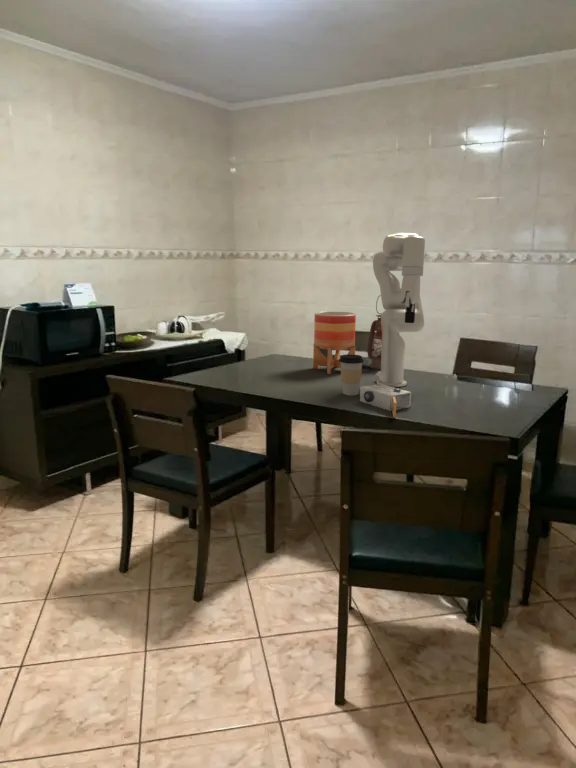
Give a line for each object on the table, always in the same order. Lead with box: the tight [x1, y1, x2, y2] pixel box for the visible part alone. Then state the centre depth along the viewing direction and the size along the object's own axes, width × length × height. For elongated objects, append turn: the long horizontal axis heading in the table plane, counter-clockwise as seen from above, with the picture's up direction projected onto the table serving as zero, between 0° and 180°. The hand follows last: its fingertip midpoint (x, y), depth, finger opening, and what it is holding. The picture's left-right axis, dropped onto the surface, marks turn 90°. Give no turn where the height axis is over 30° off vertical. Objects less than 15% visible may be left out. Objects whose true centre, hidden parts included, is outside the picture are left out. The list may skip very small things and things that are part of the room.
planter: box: [312, 311, 357, 375], centre depth 264 cm, size 20×20×27 cm
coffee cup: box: [339, 354, 364, 396], centre depth 219 cm, size 9×9×15 cm
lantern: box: [366, 294, 382, 370], centre depth 270 cm, size 11×16×35 cm
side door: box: [392, 396, 397, 418], centre depth 191 cm, size 1×9×5 cm, turn 173°
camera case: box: [359, 383, 412, 412], centre depth 204 cm, size 16×11×6 cm
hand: (409, 322), depth 206 cm, fingers closed
